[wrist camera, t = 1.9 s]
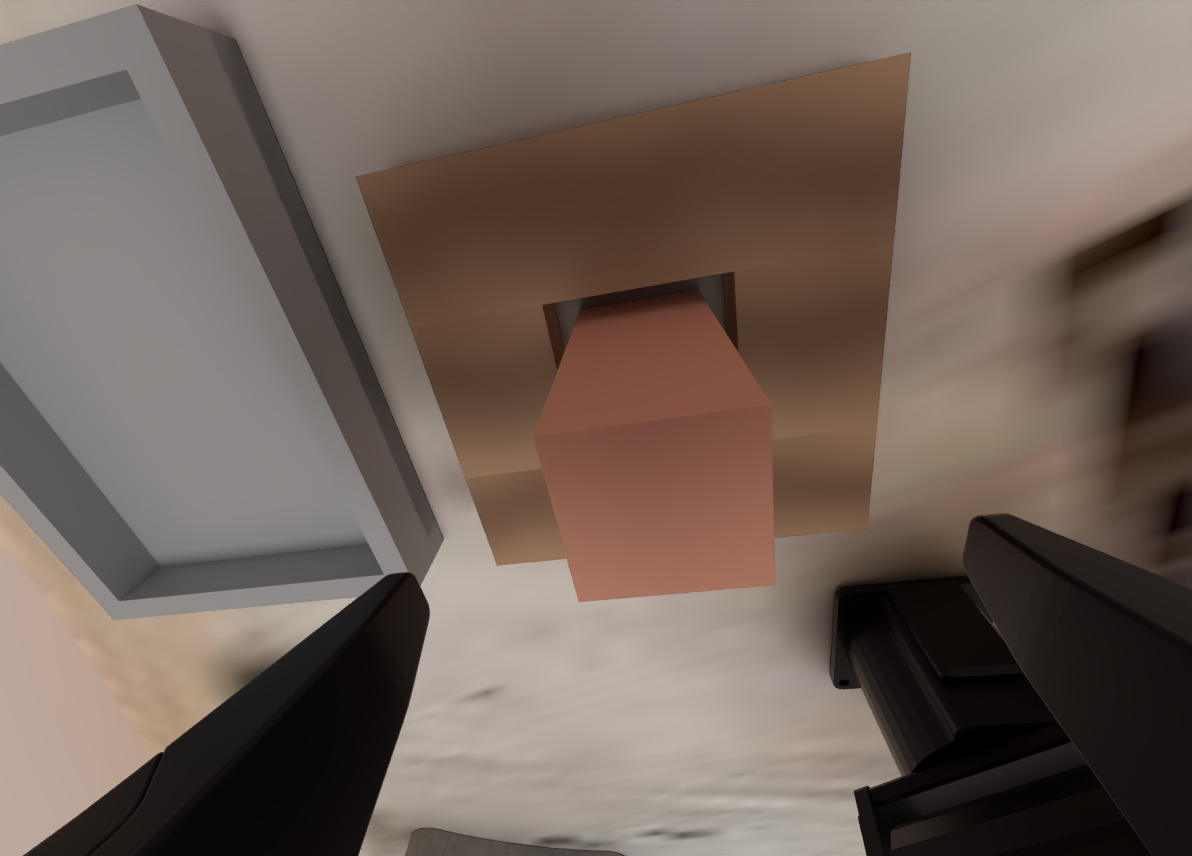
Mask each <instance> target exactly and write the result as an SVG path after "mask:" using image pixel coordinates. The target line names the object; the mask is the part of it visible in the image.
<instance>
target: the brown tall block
mask: <svg viewBox="0 0 1192 856" xmlns="http://www.w3.org/2000/svg"><path fill="white" fill-rule="evenodd" d="M533 438H534V441H535V445H536V449H537V452H538V456H539V459H540V463H541V467H542V470H543V474H544V478H545V481H546V485H547V489H548V492H549V496H550V499H551V503H552V507H553V510H554V514H555V518H556V521H557V525H558V528H559V532H560V536H561V539H562V543H563V547H564V550H565V554H566V558H567V561H568V565H569V568H570V572H571V576H572V579H573V583H574V587H575V590H576V594H577V597H578V601H579V602H584V601H596V600H607V599H619V598H630V597H642V596H654V595H665V594H677V593H688V592H700V591H711V590H723V589H734V588H746V587H758V586H769V585H775V566H774V513H773V461H772V408H771V403H770V402H769V400H768V398H767V397H766V395H765V394H764V392H763V391H762V389H761V387H760V386H759V384H758V383H757V381H756V380H755V378H754V376H753V375H752V373H751V372H750V370H749V369H748V367H747V365H746V364H745V362H744V361H743V359H742V358H741V356H740V354H739V353H738V351H737V350H736V348H735V347H734V345H733V343H732V342H731V340H730V339H729V337H728V336H727V334H726V332H725V331H724V329H723V328H722V326H721V325H720V323H719V321H718V320H717V318H716V317H715V315H714V314H713V312H712V310H711V309H710V307H709V306H708V304H707V303H706V301H705V299H704V298H703V296H702V295H701V293H700V292H699V290H696V291H690V292H684V293H678V294H673V295H667V296H661V297H655V298H649V299H643V300H637V301H632V302H626V303H620V304H614V305H608V306H602V307H596V308H591V309H585V310H580V311H579V313H578V316H577V319H576V322H575V324H574V327H573V330H572V333H571V335H570V338H569V341H568V344H567V346H566V349H565V352H564V354H563V357H562V360H561V363H560V365H559V368H558V371H557V374H556V376H555V379H554V382H553V385H552V387H551V390H550V393H549V395H548V398H547V401H546V404H545V406H544V409H543V412H542V415H541V417H540V420H539V423H538V425H537V428H536V431H535V434H534V436H533Z"/></svg>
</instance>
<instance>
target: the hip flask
mask: <svg viewBox="0 0 1192 856" xmlns="http://www.w3.org/2000/svg"><path fill="white" fill-rule="evenodd" d="M405 856H623V855H621V854H619V853H615V852H606V851H581V850H566V849H555V848H545V847H536V846H528V845H520V844H513V843H506V842H499V841H492V840H487V839H481V838H475V837H470V836H465V835H460V834H455V833H451V832H446V831H442V830H438V829H432V828H423V829H418V830H416V831H415V832H413V834H412V836H411V839H410V842H409V845H408V848H407V851H406V854H405Z"/></svg>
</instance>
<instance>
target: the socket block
mask: <svg viewBox="0 0 1192 856" xmlns="http://www.w3.org/2000/svg"><path fill="white" fill-rule="evenodd" d="M910 59H911V52H910V53H906V54H901V55H897V56H893V57H888V58H884V59H879V60H875V61H870V62H866V63H861V64H857V65H852V66H848V67H843V68H839V69H835V70H830V71H826V72H821V73H817V74H812V75H808V76H803V77H799V78H794V79H790V80H785V81H781V82H777V83H772V84H768V85H763V86H759V87H754V88H750V89H745V90H741V91H736V92H732V93H727V94H723V95H718V96H714V97H710V98H705V99H701V100H696V101H692V102H687V103H683V104H678V105H674V106H669V107H665V108H660V109H656V110H652V111H647V112H643V113H638V114H634V115H629V116H625V117H620V118H616V119H611V120H607V121H602V122H598V123H594V124H589V125H585V126H580V127H576V128H571V129H567V130H562V131H558V132H553V133H549V134H544V135H540V136H536V137H531V138H527V139H522V140H518V141H513V142H509V143H504V144H500V145H495V146H491V147H486V148H482V149H478V150H473V151H469V152H464V153H460V154H455V155H451V156H446V157H442V158H437V159H433V160H428V161H424V162H419V163H415V164H411V165H406V166H402V167H397V168H393V169H388V170H384V171H379V172H375V173H370V174H366V175H361V176H357V177H356V180H357V182H358V185H359V188H360V191H361V193H362V196H363V199H364V202H365V204H366V207H367V210H368V213H369V215H370V218H371V221H372V224H373V226H374V229H375V232H376V235H377V237H378V240H379V243H380V245H381V248H382V251H383V254H384V256H385V259H386V262H387V265H388V267H389V270H390V273H391V276H392V278H393V281H394V284H395V287H396V289H397V292H398V295H399V298H400V300H401V303H402V306H403V309H404V311H405V314H406V317H407V320H408V322H409V325H410V328H411V331H412V333H413V336H414V339H415V342H416V344H417V347H418V350H419V353H420V355H421V358H422V361H423V364H424V366H425V369H426V372H427V375H428V377H429V380H430V383H431V386H432V388H433V391H434V394H435V396H436V399H437V402H438V405H439V407H440V410H441V413H442V416H443V418H444V421H445V424H446V427H447V429H448V432H449V435H450V438H451V440H452V443H453V446H454V449H455V451H456V454H457V457H458V460H459V462H460V465H461V468H462V471H463V473H464V476H465V479H466V482H467V484H468V487H469V490H470V493H471V495H472V498H473V501H474V504H475V506H476V509H477V512H478V515H479V517H480V520H481V523H482V526H483V528H484V531H485V534H486V536H487V539H488V542H489V545H490V547H491V550H492V553H493V556H494V558H495V561H496V564H497V566H498V565H508V564H518V563H528V562H538V561H548V560H558V559H567V558H566V554H565V550H564V547H563V543H562V539H561V536H560V532H559V528H558V525H557V521H556V518H555V514H554V510H553V507H552V503H551V499H550V496H549V492H548V489H547V485H546V481H545V478H544V474H543V470H542V467H541V463H540V459H539V456H538V452H537V449H536V445H535V441H534V438H533V436H534V434H535V431H536V428H537V425H538V423H539V420H540V417H541V415H542V412H543V409H544V406H545V404H546V401H547V398H548V395H549V393H550V390H551V387H552V385H553V382H554V379H555V376H556V374H557V371H558V368H559V365H560V363H561V360H562V357H563V354H564V352H565V350H564V346H563V341H562V336H561V332H560V327H559V323H558V318H557V314H556V309H555V305H554V303H556V302H562V301H568V300H573V299H579V298H585V297H591V296H596V295H602V294H608V293H613V292H619V291H625V290H631V289H636V288H642V287H648V286H654V285H659V284H665V283H671V282H676V281H682V280H688V279H694V278H699V277H705V276H711V275H717V274H722V273H723V286H724V302H725V319H726V334H727V336H728V337H729V339H730V340H731V342H732V343H733V345H734V347H735V348H736V350H737V351H738V353H739V354H740V356H741V358H742V359H743V361H744V362H745V364H746V365H747V367H748V369H749V370H750V372H751V373H752V375H753V376H754V378H755V380H756V381H757V383H758V384H759V386H760V387H761V389H762V391H763V392H764V394H765V395H766V397H767V398H768V400H769V402H770V403H771V408H772V461H773V513H774V538H778V537H788V536H798V535H808V534H818V533H828V532H838V531H848V530H858V529H867V527H868V516H869V505H870V494H871V483H872V472H873V461H874V451H875V440H876V429H877V418H878V407H879V396H880V385H881V374H882V363H883V353H884V342H885V331H886V320H887V309H888V298H889V287H890V276H891V265H892V255H893V244H894V233H895V222H896V211H897V200H898V189H899V178H900V167H901V157H902V146H903V135H904V124H905V113H906V102H907V91H908V80H909V69H910Z"/></svg>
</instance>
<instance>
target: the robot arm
mask: <svg viewBox="0 0 1192 856" xmlns="http://www.w3.org/2000/svg"><path fill="white" fill-rule="evenodd" d="M963 564H964V568H965V571H966V573H967V575H968V576H964V577H952V578H940V579H929V580H917V581H905V582H893V583H881V584H870V585H858V586H847V587H842V588H841V589H839V590H838V591H837V592H836V594H835V601H834V619H833V636H832V653H831V670H830V677H831V680H832V682H833V685H834V686H835V687H836V688H838V689H856V688H861V689H862V691H863V693H864V695H865V697H866V700H867V702H868V704H869V706H870V708H871V710H872V713H873V715H874V717H875V719H876V721H877V724H878V726H879V728H880V730H881V732H882V734H883V737H884V739H885V741H886V743H887V745H888V747H889V750H890V752H891V754H892V756H893V758H894V761H895V763H896V765H897V767H898V769H899V771H900V774H901V776H902V777H900V778H897V779H894V780H891V781H888V782H886V783H883V784H880V785H877V786H874V787H872V788H870V787H869V786H865V787H862V788H859V789H857V790H854V795H855V799H856V804H857V808H858V812H859V816H858V820H859V824H860V829H861V833H862V837H863V842H864V846H865V851H866V855H867V856H1192V589H1191V588H1188V587H1186V586H1183V585H1181V584H1178V583H1176V582H1173V581H1171V580H1169V579H1166V578H1164V577H1161V576H1159V575H1156V574H1154V573H1152V572H1149V571H1147V570H1144V569H1142V568H1139V567H1137V566H1134V565H1132V564H1130V563H1127V562H1125V561H1122V560H1120V559H1117V558H1115V557H1112V556H1110V555H1108V554H1105V553H1103V552H1100V551H1098V550H1095V549H1093V548H1090V547H1088V546H1086V545H1083V544H1081V543H1078V542H1076V541H1073V540H1071V539H1069V538H1066V537H1064V536H1061V535H1059V534H1056V533H1054V532H1051V531H1049V530H1047V529H1044V528H1042V527H1039V526H1037V525H1034V524H1032V523H1029V522H1027V521H1025V520H1022V519H1020V518H1017V517H1015V516H1012V515H1010V514H1005V513H999V514H988V515H979V516H976V517H974V518H973V519H972V520H971V522H970V525H969V530H968V535H967V539H966V544H965V549H964V554H963ZM847 598H848V599H847ZM429 617H430V609H429V605H428V602H427V600H426V598H425V596H424V594H423V591H422V589H421V587H420V585H419V583H418V581H417V579H416V577H415V575H414V574H412V573H410V572H402V573H392V574H388V575H386V576H385V577H384V578H382V579H381V580H380V581H378V582H377V583H376V584H375V585H373V586H372V587H371V588H369V589H368V590H367V591H366V592H364V593H363V594H362V595H361V596H359V597H358V598H357V599H355V600H354V601H353V602H352V603H350V604H349V605H348V606H346V607H345V608H344V609H343V610H341V611H340V612H339V613H338V614H336V615H335V616H334V617H332V618H331V619H330V620H329V621H327V622H326V623H325V624H323V625H322V626H321V627H320V628H318V629H317V630H316V631H314V632H313V633H312V634H311V635H309V636H308V637H307V638H306V639H304V640H303V641H302V642H300V643H299V644H298V645H297V646H295V647H294V648H293V649H291V650H290V651H289V652H288V653H286V654H285V655H284V656H282V657H281V658H280V659H279V660H277V661H276V662H275V663H274V664H272V665H271V666H270V667H268V668H267V669H266V670H265V671H263V672H262V673H261V674H259V675H258V676H257V677H256V678H254V679H253V680H252V681H251V682H249V683H248V684H247V685H245V686H244V687H243V688H242V689H240V690H239V691H238V692H236V693H235V694H234V695H233V696H231V697H230V698H229V699H227V700H226V701H225V702H224V703H222V704H221V705H220V706H219V707H217V708H216V709H215V710H213V711H212V712H211V713H210V714H208V715H207V716H206V717H204V718H203V719H202V720H201V721H199V722H198V723H197V724H195V725H194V726H193V727H192V728H190V729H189V730H188V731H187V732H185V733H184V734H183V735H181V736H180V737H179V738H178V739H176V740H175V741H174V742H172V743H171V744H170V745H169V746H167V747H166V749H165V751H164V752H160V753H158V754H157V755H156V756H154V757H153V758H152V759H151V760H150V761H148V762H147V763H145V764H144V765H143V766H142V767H140V768H139V769H138V770H137V771H136V772H134V773H133V774H132V775H130V776H129V777H128V778H126V779H125V780H124V781H122V782H121V783H120V784H118V785H117V786H116V787H115V788H113V789H112V790H111V791H109V792H108V793H107V794H106V795H104V796H103V797H101V798H100V799H99V800H98V801H96V802H95V803H94V804H92V805H91V806H90V807H88V808H87V809H86V810H84V811H83V812H82V813H81V814H79V815H78V816H77V817H76V818H74V819H72V820H71V821H70V822H69V823H67V824H66V825H65V826H63V827H62V828H60V829H59V830H57V831H56V832H55V833H53V834H52V835H51V836H49V837H48V838H47V839H45V840H44V841H43V842H41V843H40V844H38V845H37V846H36V847H34V848H33V849H32V850H30V851H29V852H27V853H26V854H25V855H23V856H358V855H359V852H360V849H361V846H362V843H363V840H364V837H365V834H366V831H367V828H368V825H369V822H370V819H371V817H372V814H373V811H374V808H375V805H376V802H377V799H378V796H379V793H380V790H381V787H382V784H383V781H384V778H385V775H386V772H387V769H388V766H389V763H390V760H391V757H392V754H393V751H394V748H395V745H396V743H397V740H398V737H399V734H400V731H401V728H402V725H403V722H404V719H405V715H406V712H407V709H408V706H409V702H410V698H411V695H412V691H413V686H414V682H415V678H416V674H417V669H418V665H419V661H420V657H421V652H422V648H423V644H424V640H425V635H426V631H427V627H428V622H429ZM993 621H994V623H995V625H996V627H997V628H998V630H999V631H998V630H997V629H996V627H995V626H994V625H993V624H992V623H993Z"/></svg>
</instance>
